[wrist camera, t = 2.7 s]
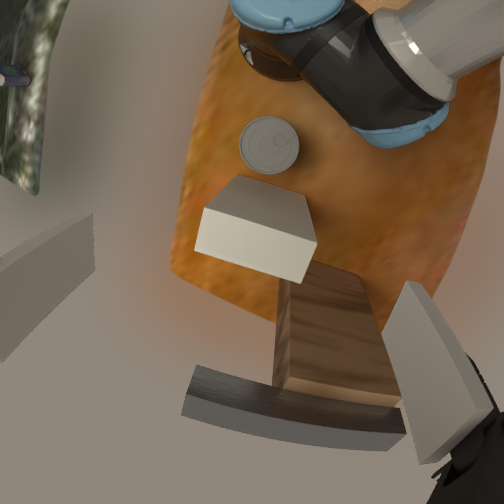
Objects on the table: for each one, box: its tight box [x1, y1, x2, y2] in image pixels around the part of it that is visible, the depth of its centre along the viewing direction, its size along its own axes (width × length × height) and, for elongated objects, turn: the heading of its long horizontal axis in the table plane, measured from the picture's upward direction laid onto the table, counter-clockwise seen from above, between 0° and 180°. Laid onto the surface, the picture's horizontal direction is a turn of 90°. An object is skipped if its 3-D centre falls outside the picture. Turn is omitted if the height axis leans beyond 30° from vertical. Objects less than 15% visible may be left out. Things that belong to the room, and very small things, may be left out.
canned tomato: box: [239, 116, 299, 175], centre depth 42 cm, size 8×8×11 cm
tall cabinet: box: [272, 260, 402, 407], centre depth 43 cm, size 7×14×30 cm, turn 73°
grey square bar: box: [181, 365, 407, 451], centre depth 27 cm, size 4×24×4 cm, turn 73°
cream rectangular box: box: [194, 174, 317, 284], centre depth 41 cm, size 6×12×22 cm, turn 73°
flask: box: [0, 64, 31, 86], centre depth 39 cm, size 9×3×11 cm, turn 45°
